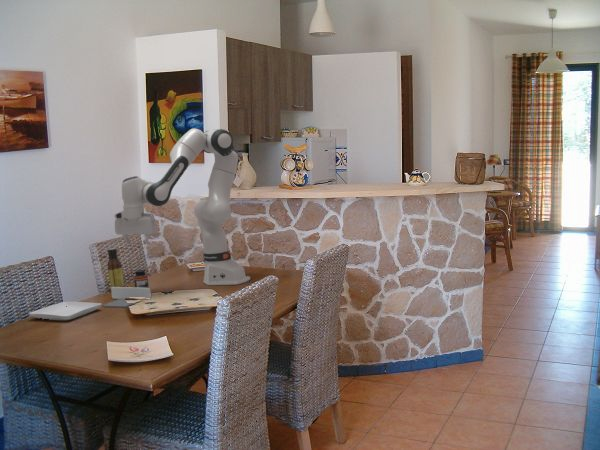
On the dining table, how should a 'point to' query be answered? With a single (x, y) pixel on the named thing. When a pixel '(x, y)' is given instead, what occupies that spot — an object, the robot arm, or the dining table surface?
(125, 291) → the acrylic wall
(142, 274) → the supplement bottle
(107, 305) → the rubber mat
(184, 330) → the dining table surface
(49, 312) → the salad plate
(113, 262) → the sauce bottle
